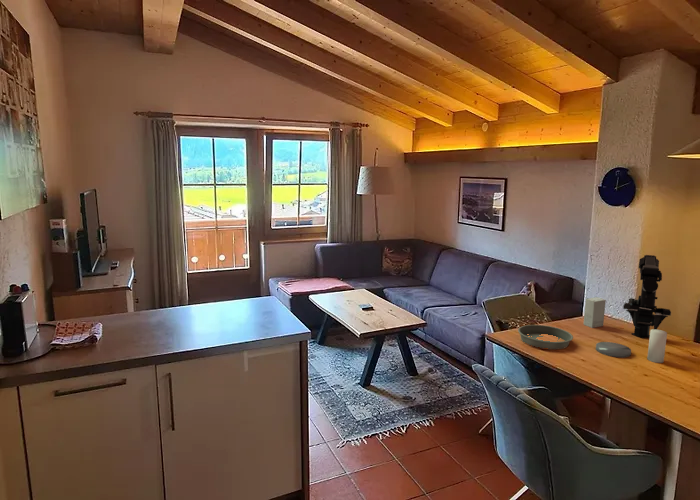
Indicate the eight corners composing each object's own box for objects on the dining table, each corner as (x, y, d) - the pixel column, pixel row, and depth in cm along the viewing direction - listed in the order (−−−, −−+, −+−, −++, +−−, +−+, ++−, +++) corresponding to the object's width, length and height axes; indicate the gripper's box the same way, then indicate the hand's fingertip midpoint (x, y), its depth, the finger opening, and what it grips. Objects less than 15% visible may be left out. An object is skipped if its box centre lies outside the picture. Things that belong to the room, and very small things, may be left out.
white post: (653, 356, 204) (657, 328, 202) (666, 361, 199) (670, 333, 197) (643, 358, 202) (647, 330, 200) (656, 363, 197) (660, 334, 195)
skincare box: (594, 323, 250) (597, 296, 248) (603, 326, 245) (606, 299, 242) (582, 324, 247) (585, 298, 245) (591, 328, 242) (594, 300, 239)
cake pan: (530, 351, 210) (530, 341, 209) (509, 333, 234) (510, 324, 234) (582, 351, 211) (583, 341, 210) (557, 332, 235) (557, 324, 235)
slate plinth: (611, 344, 219) (611, 340, 218) (638, 355, 206) (638, 351, 205) (588, 348, 214) (589, 343, 214) (614, 359, 201) (615, 354, 201)
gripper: (656, 297, 219) (653, 330, 217) (617, 291, 219) (614, 323, 217) (673, 297, 208) (670, 332, 206) (632, 290, 208) (629, 324, 206)
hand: (645, 328), depth 209 cm, fingers open, 9 cm apart
